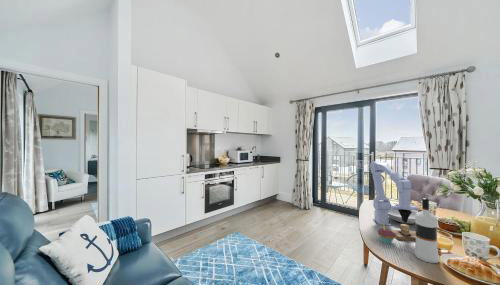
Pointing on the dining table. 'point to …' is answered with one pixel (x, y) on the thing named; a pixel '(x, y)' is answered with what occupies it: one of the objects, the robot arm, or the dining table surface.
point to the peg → (404, 229)
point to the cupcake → (386, 235)
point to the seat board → (408, 238)
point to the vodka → (426, 234)
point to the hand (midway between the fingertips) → (404, 221)
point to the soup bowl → (397, 217)
